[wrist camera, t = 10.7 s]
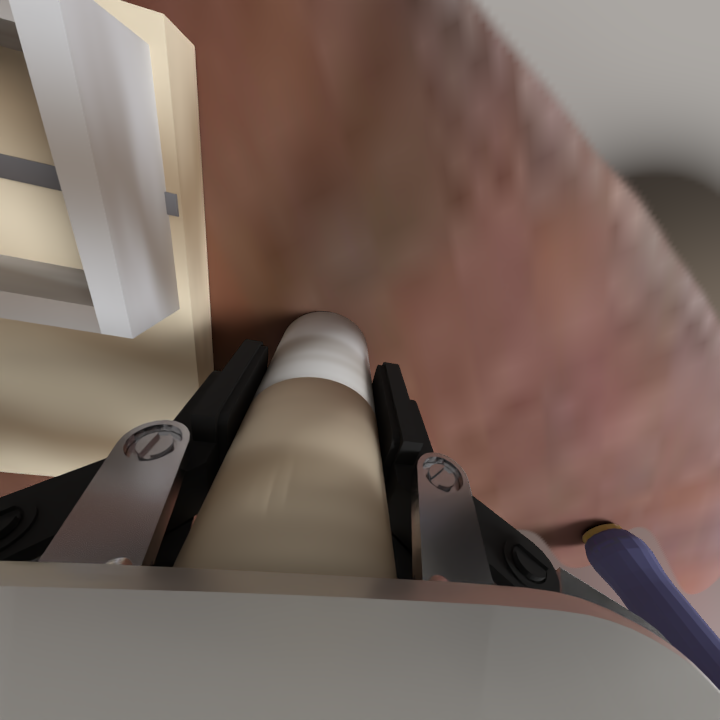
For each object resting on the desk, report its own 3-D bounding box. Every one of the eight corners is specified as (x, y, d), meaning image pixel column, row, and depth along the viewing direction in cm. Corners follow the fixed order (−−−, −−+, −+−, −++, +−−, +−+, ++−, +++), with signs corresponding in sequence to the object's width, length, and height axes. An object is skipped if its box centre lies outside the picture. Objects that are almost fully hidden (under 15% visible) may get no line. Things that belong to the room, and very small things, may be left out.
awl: (358, 392, 14) (374, 704, 5) (278, 380, 13) (153, 707, 5) (376, 320, 12) (448, 630, 3) (283, 303, 11) (86, 622, 3)
